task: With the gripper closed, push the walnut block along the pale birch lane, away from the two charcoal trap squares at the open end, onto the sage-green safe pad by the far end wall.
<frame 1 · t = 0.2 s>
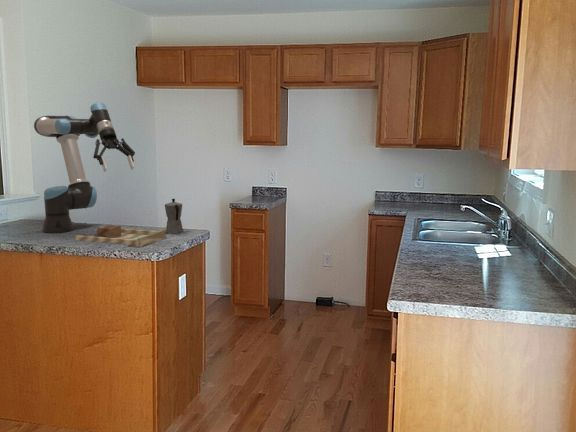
hand: (119, 169, 255), 35 cm above the counter, fingers open, 13 cm apart
trap lane: (121, 239, 262), on the counter
coffeepot: (174, 233, 280), on the counter
walnut block: (109, 236, 264), point 1 cm above the counter, touching trap lane
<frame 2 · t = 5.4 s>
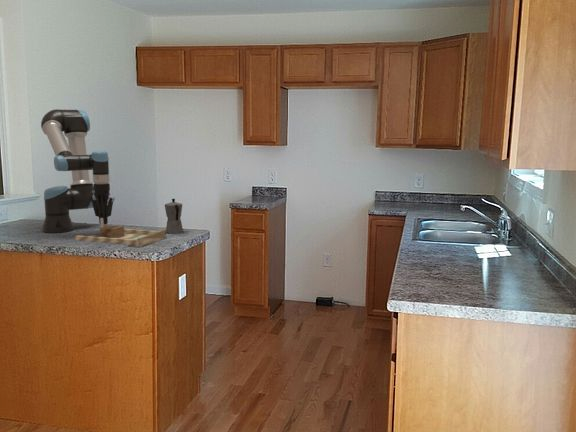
hand: (103, 230, 264), 4 cm above the counter, fingers closed
walnut block: (112, 237, 263), point 1 cm above the counter, touching gripper, trap lane
everything else where it was.
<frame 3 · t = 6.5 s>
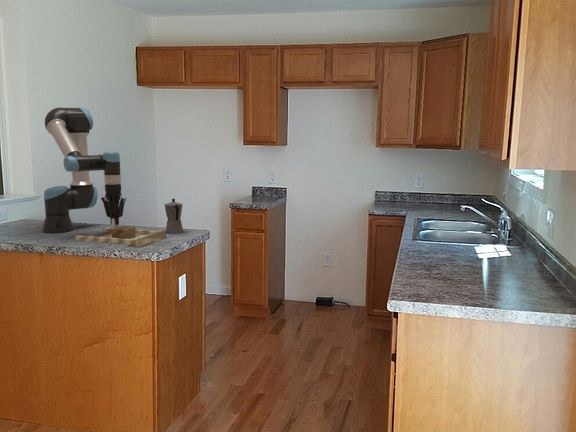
hand: (115, 231, 262), 4 cm above the counter, fingers closed
walnut block: (123, 237, 261), point 1 cm above the counter, touching gripper, trap lane
everything else where it was.
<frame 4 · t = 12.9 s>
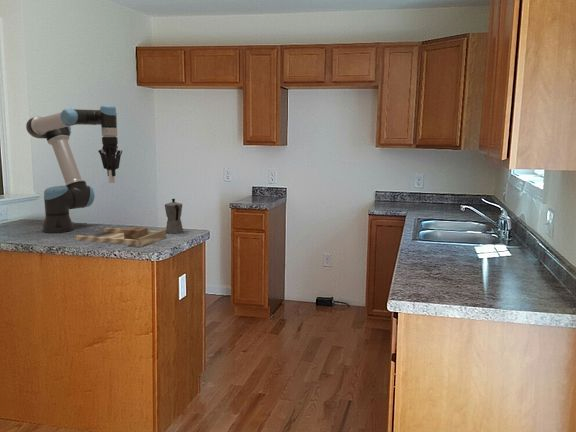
hand: (111, 182, 275), 26 cm above the counter, fingers closed
walnut block: (136, 238, 259), point 1 cm above the counter, touching trap lane
everything else where it was.
at the end: walnut block inside the target area (1.7 cm from its centre), point 1.0 cm above the counter; walnut block moved 15.3 cm from its start; walnut block tilted 0° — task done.
